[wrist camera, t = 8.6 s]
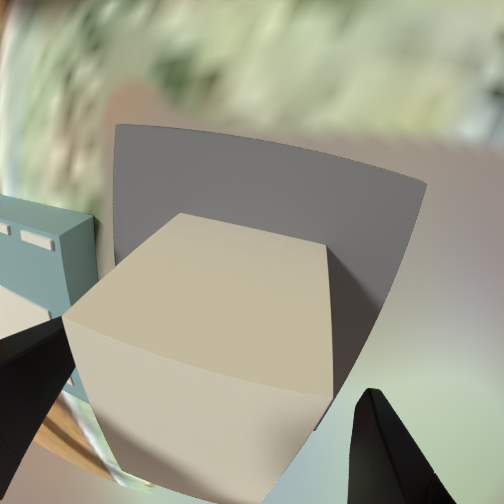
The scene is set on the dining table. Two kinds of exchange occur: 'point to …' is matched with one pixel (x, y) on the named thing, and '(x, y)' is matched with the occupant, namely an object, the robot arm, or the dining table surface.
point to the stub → (208, 356)
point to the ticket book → (43, 267)
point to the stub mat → (274, 210)
